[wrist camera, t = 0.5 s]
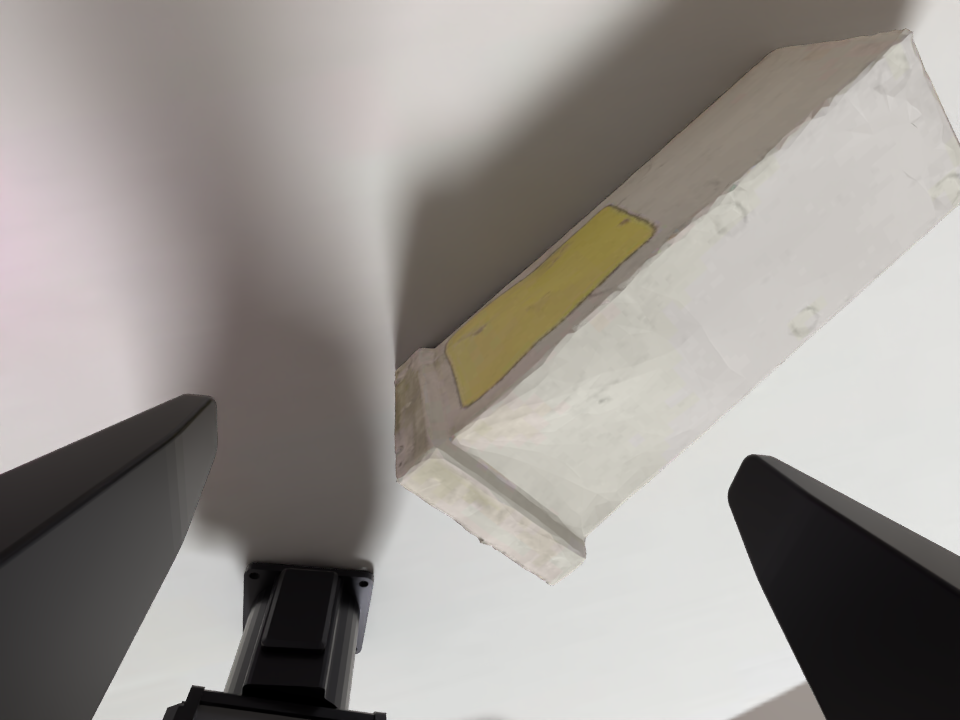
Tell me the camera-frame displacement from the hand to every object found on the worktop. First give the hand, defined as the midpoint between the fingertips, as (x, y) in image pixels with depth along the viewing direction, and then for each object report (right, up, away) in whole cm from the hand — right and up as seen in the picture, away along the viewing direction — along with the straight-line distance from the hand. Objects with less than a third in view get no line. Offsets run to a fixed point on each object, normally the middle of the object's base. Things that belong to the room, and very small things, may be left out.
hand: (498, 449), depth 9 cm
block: (+5, +5, +13) cm, 15 cm away
